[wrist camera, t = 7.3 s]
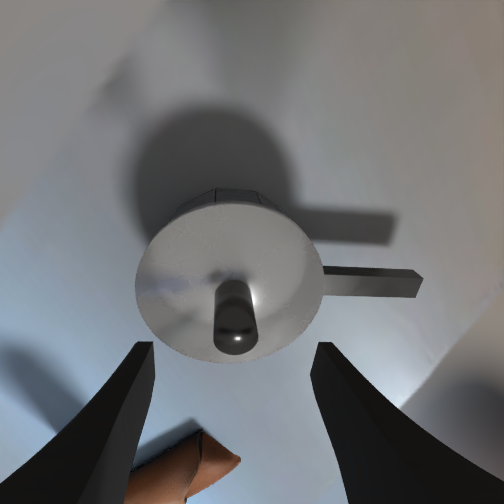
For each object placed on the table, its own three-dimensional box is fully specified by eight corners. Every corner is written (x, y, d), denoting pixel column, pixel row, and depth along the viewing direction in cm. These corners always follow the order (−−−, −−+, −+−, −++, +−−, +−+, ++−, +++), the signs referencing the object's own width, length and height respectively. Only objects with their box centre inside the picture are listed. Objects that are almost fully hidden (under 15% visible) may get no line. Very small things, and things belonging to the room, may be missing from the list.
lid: (137, 349, 19) (115, 410, 15) (140, 185, 14) (110, 212, 10) (295, 358, 21) (313, 415, 17) (344, 216, 16) (383, 249, 12)
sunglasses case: (135, 518, 37) (96, 578, 30) (107, 469, 37) (64, 517, 31) (247, 458, 33) (230, 511, 27) (214, 405, 34) (190, 444, 27)
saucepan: (163, 308, 23) (153, 345, 19) (158, 183, 18) (143, 201, 15) (373, 313, 25) (399, 346, 22) (413, 203, 21) (452, 222, 17)
